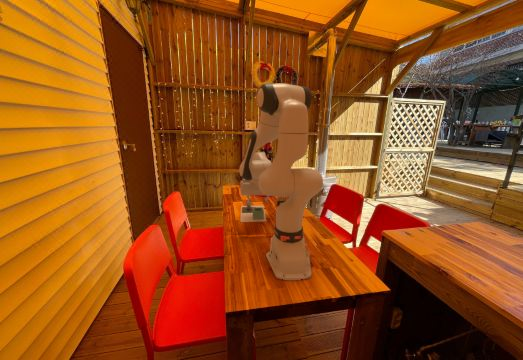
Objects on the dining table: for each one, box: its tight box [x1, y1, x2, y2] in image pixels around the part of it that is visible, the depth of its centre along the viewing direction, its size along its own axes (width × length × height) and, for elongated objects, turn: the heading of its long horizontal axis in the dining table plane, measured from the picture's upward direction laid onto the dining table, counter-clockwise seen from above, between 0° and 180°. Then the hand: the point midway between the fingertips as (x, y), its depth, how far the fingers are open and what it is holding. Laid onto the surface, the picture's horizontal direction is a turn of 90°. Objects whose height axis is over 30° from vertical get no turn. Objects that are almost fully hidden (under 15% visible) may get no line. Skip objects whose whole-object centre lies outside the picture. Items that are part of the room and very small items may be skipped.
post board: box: [240, 200, 267, 223], centre depth 133 cm, size 24×15×8 cm, turn 4°
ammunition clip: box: [276, 196, 290, 207], centre depth 145 cm, size 11×2×12 cm, turn 99°
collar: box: [253, 206, 265, 220], centre depth 127 cm, size 6×6×5 cm
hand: (257, 201), depth 126 cm, fingers open, 8 cm apart
